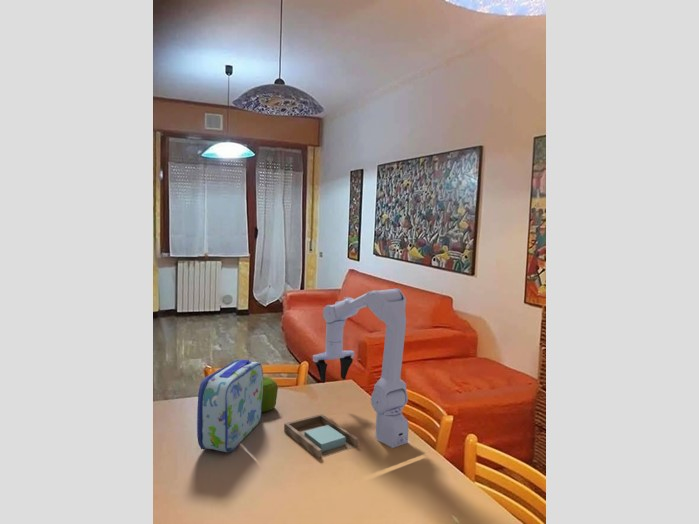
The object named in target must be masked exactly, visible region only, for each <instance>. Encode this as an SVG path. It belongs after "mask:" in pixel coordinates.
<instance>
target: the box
mask: <svg viewBox="0 0 699 524" xmlns="http://www.w3.org/2000/svg"><path fill="white" fill-rule="evenodd" d="M283 425H284V427H283V428H284V429H283V431H284V432H285V433H287V434H288V436H290V437H291V438H292V439H294V440H295V441H296V442H297V443H298V444H299V445H300V446H302V447H303V448H304V449H305V450H307V451H308V452H309V453H311V455H313V456H314V457H315V458H316V459H318V460H320V459H321V458H325V457H329V456H331V455H335V454H337V453H341V452H343V451H346V450H349V449H353V448H354V449H355V448H357V447H358V445H359V438H358V437H357V436H355V435H354V434H352V433H351V432H349V431H347V430H346V429H345V428H343V427H342V426H341V425H339V424H337V423H336V422H334V420H332V419H330V418H328V417H327V416H325V414H323V413H319V414H315V415H312V416H308V417H304V418H301V419H296V420H292V421H290V422H284V424H283ZM326 425H329V426H330V427H332V428H333V429H335V430H336V431H338V432H339V433H340V434H342V435H343V436H345V437H346V440H345V445H342V446H339V447H336V448H333V449H330V450H326V451H323V452H322V449H320V448H319V447H318V446H316V445H315V444H314V443H313V442H311V441H310V440H309V439H307V438H306V437H305V436H304V434H305V431H308V430H311V429H315V428H319V427H322V426H326Z"/></svg>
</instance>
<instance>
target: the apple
mask: <svg viewBox="0 0 699 524" xmlns="http://www.w3.org/2000/svg"><path fill="white" fill-rule="evenodd" d="M278 390H279V388H278V382H276V381H275V380H273V379H272V378H270V377H268V376H263V395H262V409H261V413H266V412H268V411H270V410H272V409H274V408H275V407H276V404H277V397H278Z"/></svg>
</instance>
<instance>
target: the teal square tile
mask: <svg viewBox="0 0 699 524" xmlns="http://www.w3.org/2000/svg"><path fill="white" fill-rule="evenodd" d="M304 436H305V437H306V438H307V439H309V440H310V441H311V442H313V443H314V444H315V445H316V446H318V447H319V448H320V449H322V452H323V451H326V450H330V449H333V448H336V447H339V446H342V445H345V440H346V437H345V436H343V435H342V434H340V433H339V432H338V431H336V430H335V429H333V428H332V427H330V426H329V425H326V426H322V427H319V428H315V429H311V430H308V431H305V434H304Z"/></svg>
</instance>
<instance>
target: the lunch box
mask: <svg viewBox="0 0 699 524" xmlns="http://www.w3.org/2000/svg"><path fill="white" fill-rule="evenodd" d="M263 377H264V371H263V365H262V364H261V362H258V361H251V360H249V359H240V360H239V359H236V360H233V361H232V362H230V363H229V364H227V365H225V366H223V367H221V368H219V369H218V370H216V371H214V372H213V373H211V374H209V375H207V376H206V377H204V378H203V379H202V380H201V382H200V385H199V388H198V394H197V409H196V410H197V414H196V415H197V416H196V418H197V419H196V426H197V427H196V428H197V429H196V433H197V435H196V436H197V442H198V446H199V448H200V449H201V450H205V449H207V450H215V451H218V452H225V453H230V452H233V451H235V450H236V449H237V447H238V446H239V445H240V444H241V443H242V441H243V440H244V439H245V438H246V437H247V436H248V435H249V434H250V433H251V432H252V431H253V430H254V429H255V428H256V427H257V426H258V424H259V422H260V420H261V417H262V412H261V409H262V395H263Z"/></svg>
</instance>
